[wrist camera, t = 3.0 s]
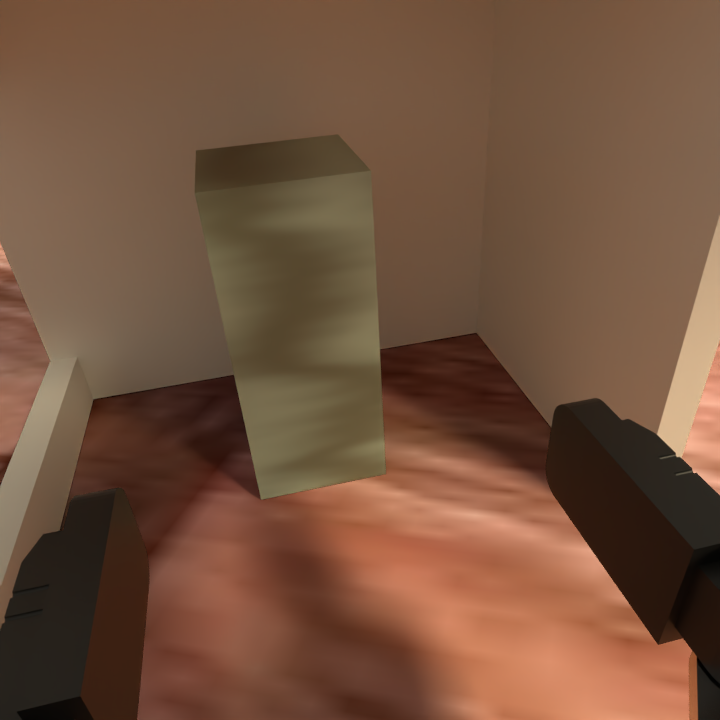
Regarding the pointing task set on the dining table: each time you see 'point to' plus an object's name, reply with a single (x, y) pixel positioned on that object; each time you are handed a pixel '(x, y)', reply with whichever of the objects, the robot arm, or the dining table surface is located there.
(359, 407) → the sage block
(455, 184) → the cubby
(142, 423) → the dining table surface
